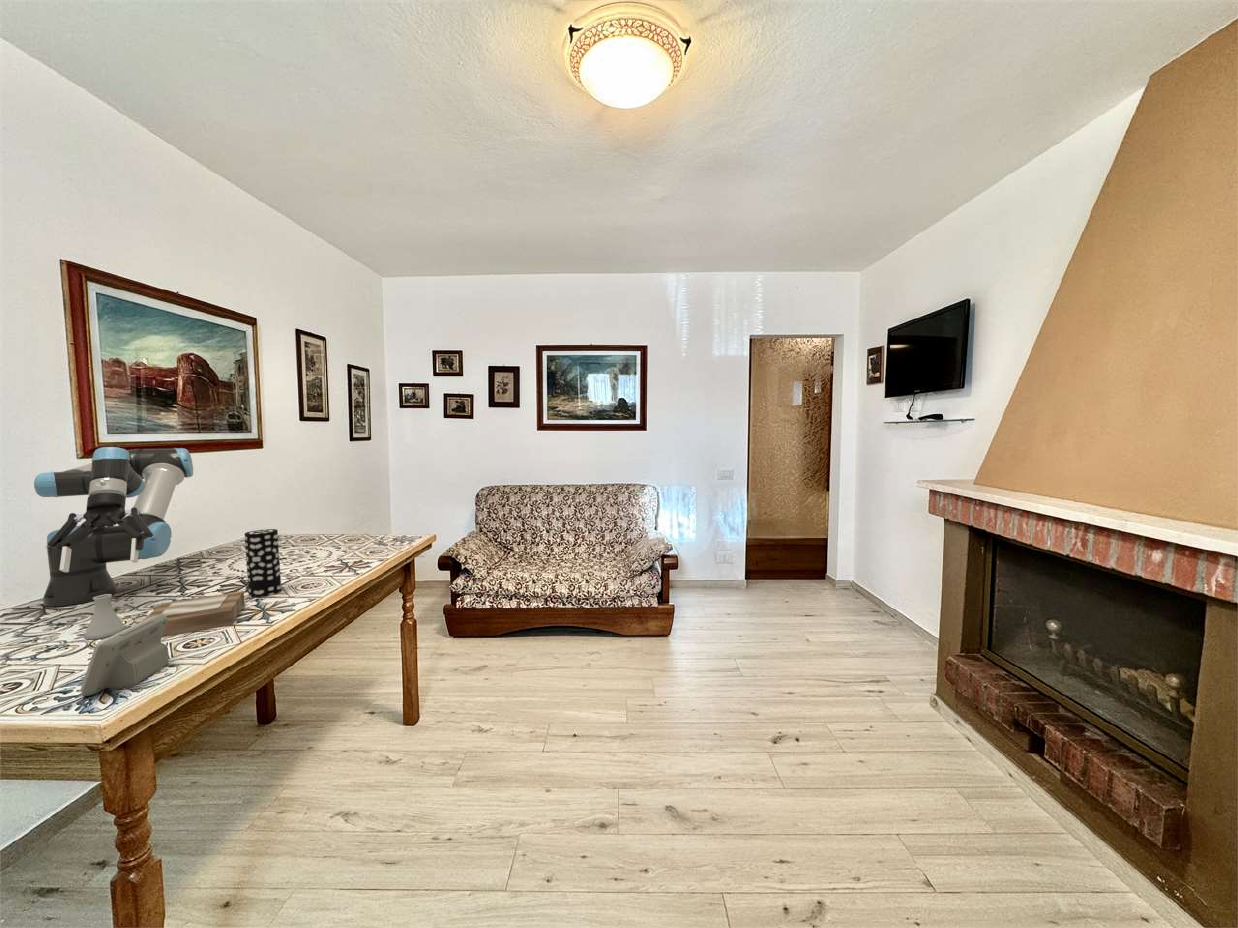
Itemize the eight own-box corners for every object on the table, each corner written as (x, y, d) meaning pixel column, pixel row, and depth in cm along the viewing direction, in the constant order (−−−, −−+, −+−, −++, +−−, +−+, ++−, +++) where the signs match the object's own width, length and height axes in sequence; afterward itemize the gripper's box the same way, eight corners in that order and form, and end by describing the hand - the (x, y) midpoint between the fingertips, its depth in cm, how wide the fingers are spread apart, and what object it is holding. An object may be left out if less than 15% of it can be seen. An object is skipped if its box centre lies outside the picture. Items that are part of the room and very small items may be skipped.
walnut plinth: (162, 617, 129) (161, 601, 129) (244, 604, 138) (243, 589, 138) (138, 641, 113) (136, 623, 113) (232, 624, 123) (230, 608, 122)
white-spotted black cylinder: (274, 587, 154) (270, 528, 152) (286, 591, 149) (282, 530, 148) (244, 594, 146) (239, 533, 145) (255, 599, 142) (251, 535, 141)
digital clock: (149, 658, 104) (146, 612, 104) (189, 657, 104) (185, 612, 104) (63, 699, 88) (57, 645, 88) (109, 698, 88) (104, 644, 87)
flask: (98, 641, 114) (94, 601, 113) (76, 639, 115) (72, 600, 115) (133, 629, 121) (130, 592, 120) (113, 627, 122) (109, 590, 122)
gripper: (36, 496, 126) (24, 571, 119) (160, 486, 139) (156, 553, 131) (51, 506, 132) (40, 578, 125) (169, 496, 145) (165, 561, 137)
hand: (100, 566), depth 128 cm, fingers open, 13 cm apart
